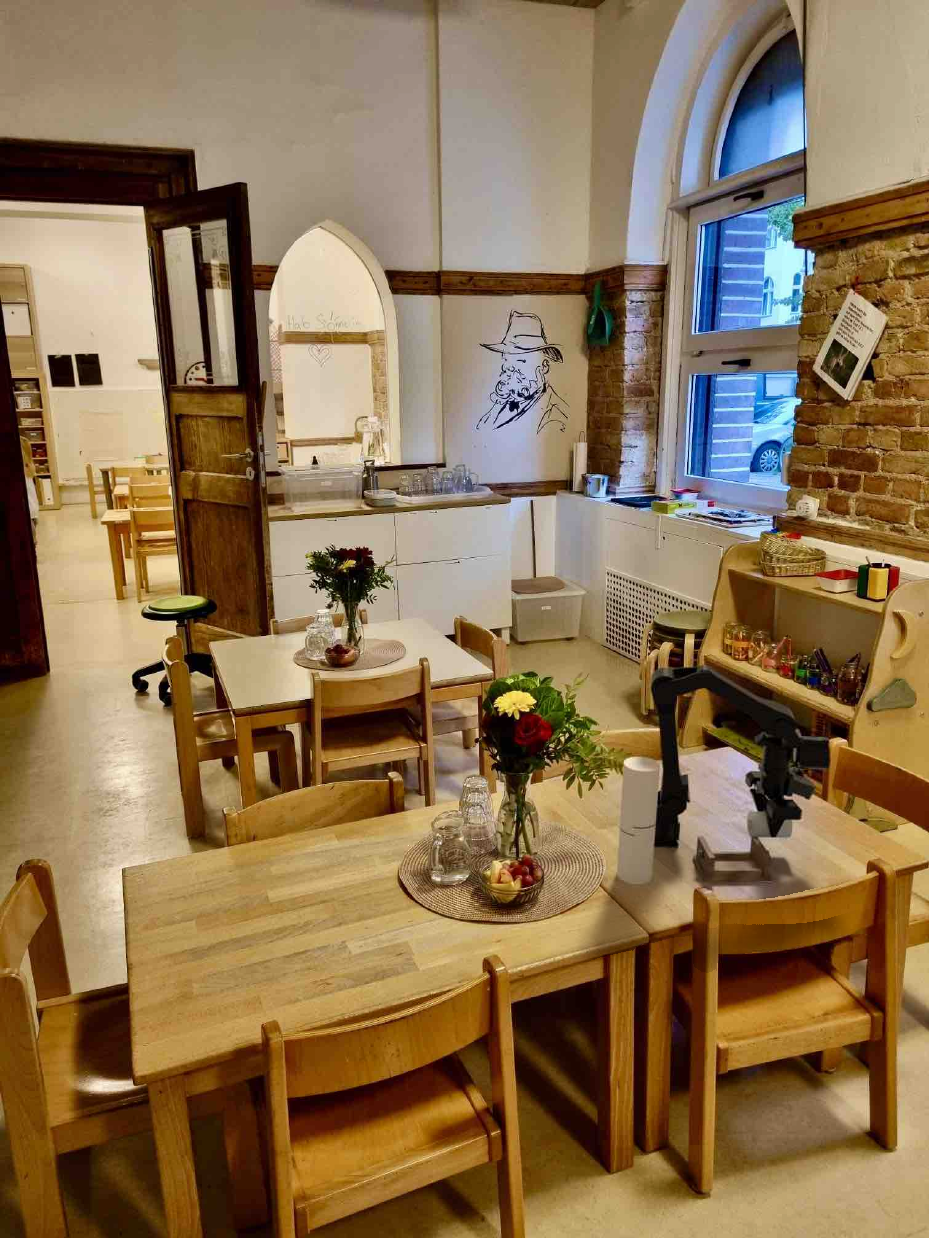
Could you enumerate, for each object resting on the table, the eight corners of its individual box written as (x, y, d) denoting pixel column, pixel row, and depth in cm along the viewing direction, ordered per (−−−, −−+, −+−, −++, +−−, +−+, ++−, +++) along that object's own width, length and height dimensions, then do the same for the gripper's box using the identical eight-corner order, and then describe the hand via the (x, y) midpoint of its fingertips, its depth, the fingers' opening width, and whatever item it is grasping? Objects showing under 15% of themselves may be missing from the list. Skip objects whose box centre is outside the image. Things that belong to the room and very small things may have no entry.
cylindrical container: (651, 886, 187) (659, 772, 180) (616, 881, 188) (623, 769, 182) (651, 868, 193) (659, 758, 187) (617, 864, 195) (624, 755, 188)
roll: (752, 841, 197) (755, 818, 196) (744, 829, 203) (746, 807, 201) (792, 842, 197) (794, 818, 196) (783, 830, 203) (785, 807, 201)
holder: (702, 881, 189) (704, 857, 187) (691, 859, 197) (693, 836, 196) (773, 881, 189) (776, 857, 187) (759, 859, 198) (761, 836, 196)
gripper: (830, 783, 187) (822, 852, 191) (797, 747, 205) (789, 811, 209) (776, 782, 187) (769, 851, 191) (747, 747, 205) (741, 810, 209)
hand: (768, 830), depth 200 cm, fingers closed on roll, 5 cm apart
